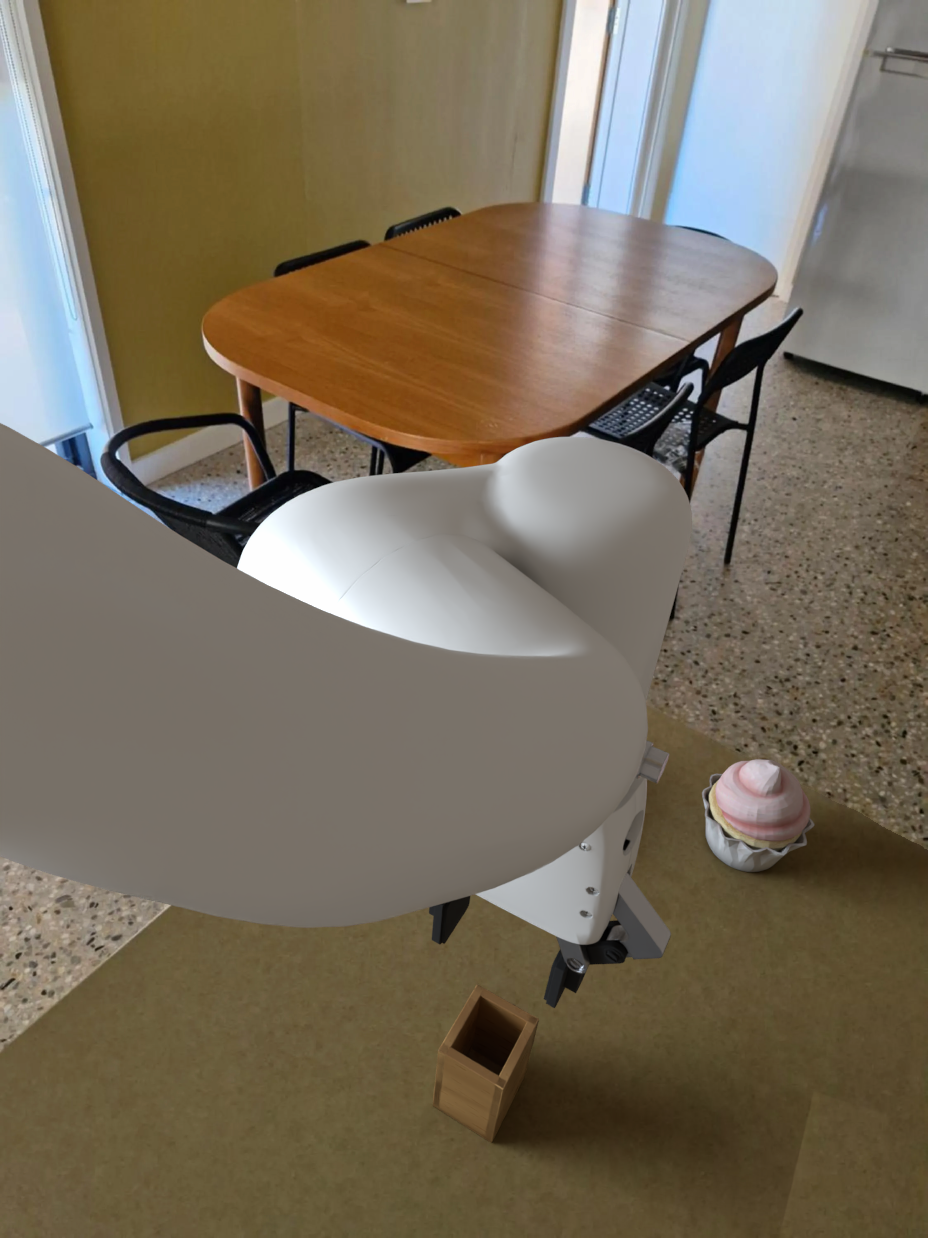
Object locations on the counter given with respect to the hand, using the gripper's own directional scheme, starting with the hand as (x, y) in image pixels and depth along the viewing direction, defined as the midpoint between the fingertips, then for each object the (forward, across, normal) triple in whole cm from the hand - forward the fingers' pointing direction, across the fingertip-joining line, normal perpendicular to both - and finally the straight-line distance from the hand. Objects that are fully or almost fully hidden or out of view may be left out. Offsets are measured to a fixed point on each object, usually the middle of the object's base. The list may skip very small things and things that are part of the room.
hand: (504, 951), depth 49 cm
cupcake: (+18, -10, -30) cm, 36 cm away
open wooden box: (+18, 0, 0) cm, 18 cm away
